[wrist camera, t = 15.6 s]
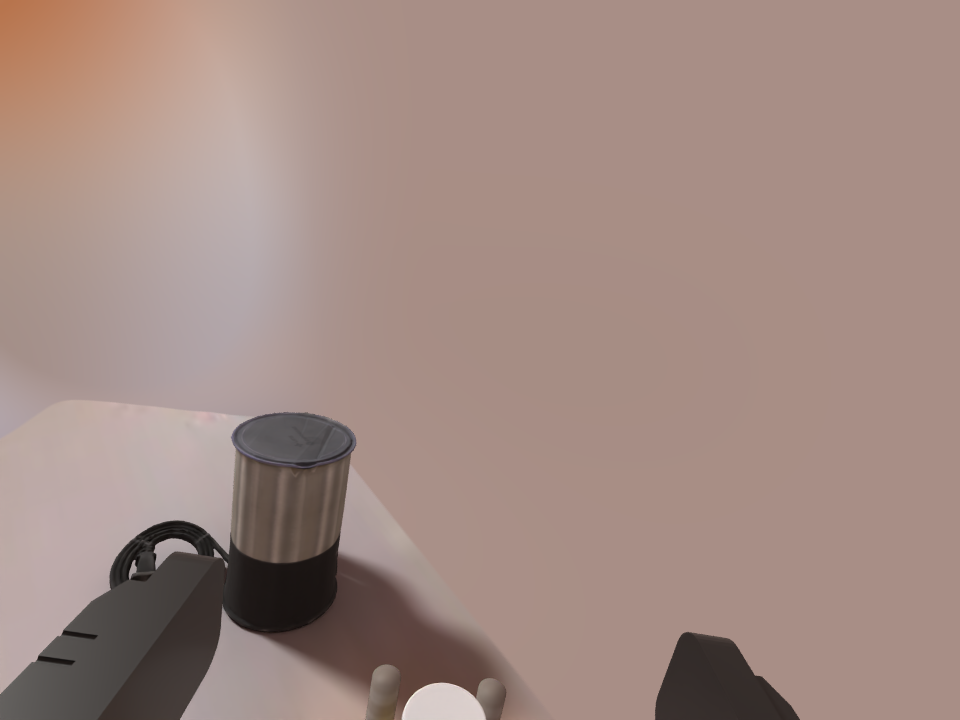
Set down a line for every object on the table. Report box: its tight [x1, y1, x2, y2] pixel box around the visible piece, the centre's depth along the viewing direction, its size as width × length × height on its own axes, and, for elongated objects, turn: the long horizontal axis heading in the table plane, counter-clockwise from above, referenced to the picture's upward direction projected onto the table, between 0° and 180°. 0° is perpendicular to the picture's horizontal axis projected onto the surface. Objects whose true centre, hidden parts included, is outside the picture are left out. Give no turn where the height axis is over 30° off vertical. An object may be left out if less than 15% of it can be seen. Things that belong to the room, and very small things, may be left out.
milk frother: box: [110, 412, 356, 632], centre depth 41 cm, size 14×16×15 cm
